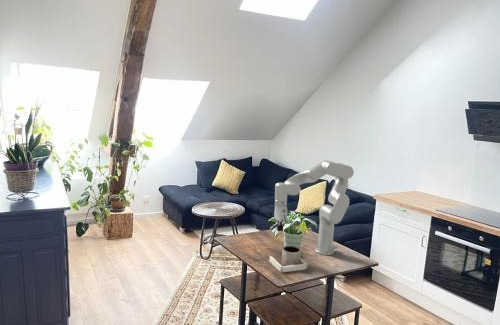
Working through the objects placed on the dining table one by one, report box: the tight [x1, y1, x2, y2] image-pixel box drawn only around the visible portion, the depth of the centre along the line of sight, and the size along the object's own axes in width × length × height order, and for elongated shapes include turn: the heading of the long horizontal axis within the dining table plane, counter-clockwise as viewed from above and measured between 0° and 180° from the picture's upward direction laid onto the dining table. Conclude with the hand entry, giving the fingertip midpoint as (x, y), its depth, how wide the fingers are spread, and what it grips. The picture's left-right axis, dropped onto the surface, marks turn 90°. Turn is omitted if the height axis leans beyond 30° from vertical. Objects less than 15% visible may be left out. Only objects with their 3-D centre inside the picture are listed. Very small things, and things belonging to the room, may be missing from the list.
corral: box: [269, 255, 309, 273], centre depth 220 cm, size 17×16×3 cm
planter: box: [281, 245, 302, 266], centre depth 221 cm, size 11×11×10 cm
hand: (279, 230), depth 233 cm, fingers closed
